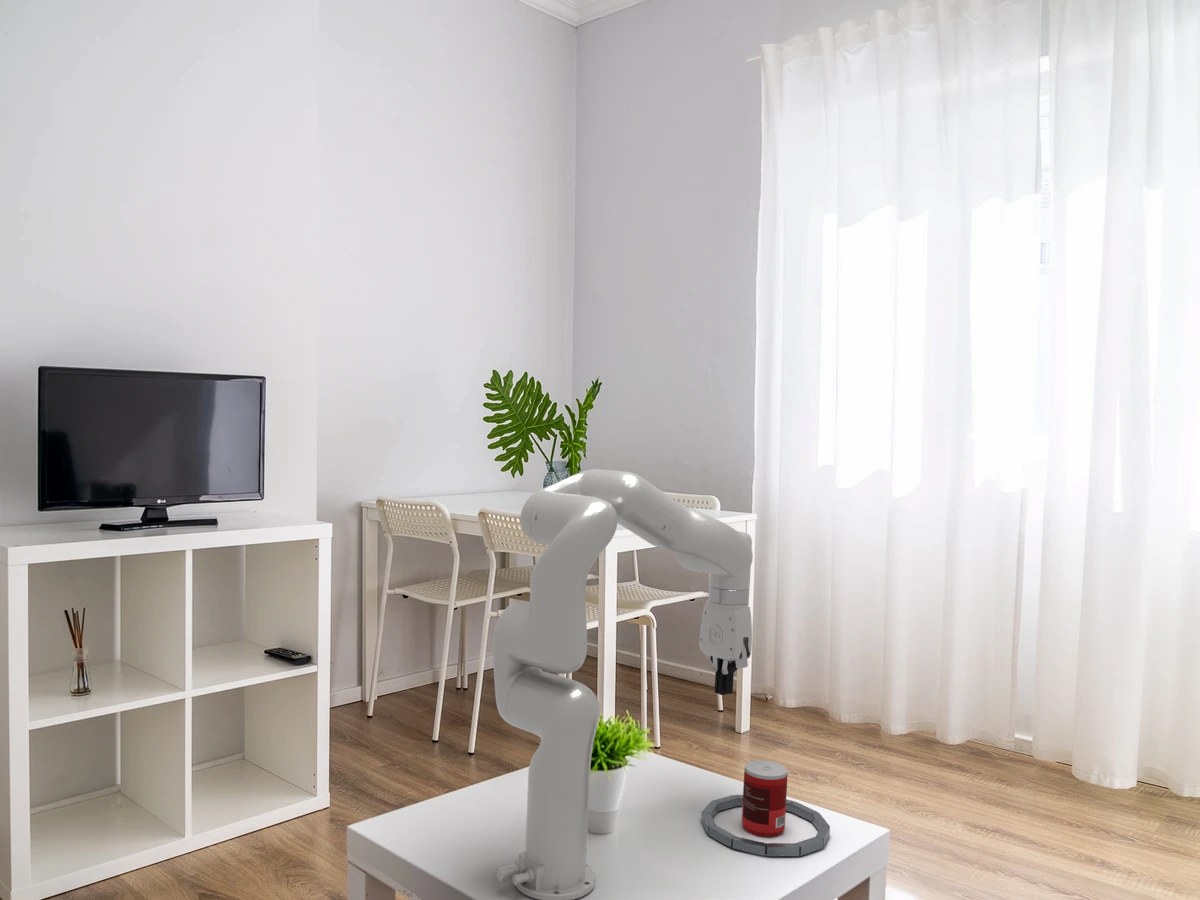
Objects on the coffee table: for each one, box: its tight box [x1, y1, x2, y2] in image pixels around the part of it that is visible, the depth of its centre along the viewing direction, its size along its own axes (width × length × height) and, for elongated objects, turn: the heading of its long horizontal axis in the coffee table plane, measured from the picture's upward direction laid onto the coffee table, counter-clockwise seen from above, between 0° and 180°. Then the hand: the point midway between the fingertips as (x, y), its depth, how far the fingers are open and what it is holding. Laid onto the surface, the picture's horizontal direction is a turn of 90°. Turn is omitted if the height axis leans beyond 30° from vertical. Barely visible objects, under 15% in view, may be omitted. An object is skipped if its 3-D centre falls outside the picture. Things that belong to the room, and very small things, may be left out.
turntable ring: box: [700, 794, 831, 857], centre depth 166 cm, size 22×22×3 cm
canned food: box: [741, 759, 789, 838], centre depth 166 cm, size 8×8×11 cm
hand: (723, 693), depth 175 cm, fingers closed
